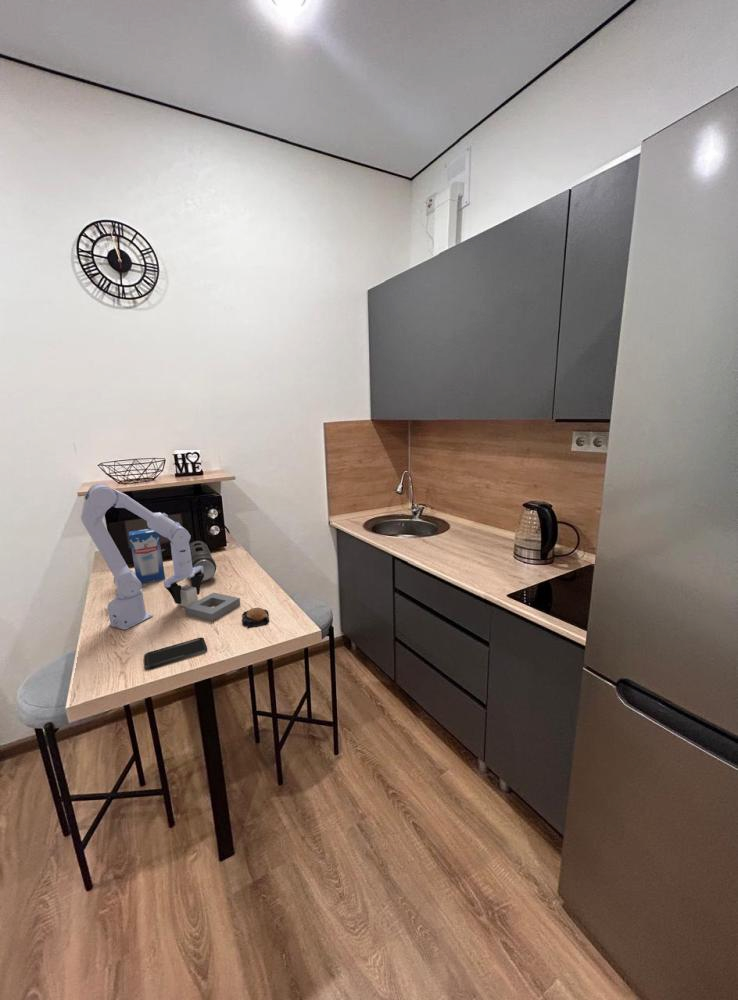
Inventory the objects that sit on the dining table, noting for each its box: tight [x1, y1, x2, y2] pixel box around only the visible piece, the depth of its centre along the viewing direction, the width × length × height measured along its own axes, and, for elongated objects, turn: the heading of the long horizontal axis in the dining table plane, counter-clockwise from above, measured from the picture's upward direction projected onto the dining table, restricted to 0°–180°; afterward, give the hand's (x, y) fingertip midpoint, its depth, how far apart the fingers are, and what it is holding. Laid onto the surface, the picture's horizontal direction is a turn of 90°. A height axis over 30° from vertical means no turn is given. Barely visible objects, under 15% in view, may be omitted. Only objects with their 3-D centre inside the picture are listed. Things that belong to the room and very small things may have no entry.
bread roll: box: [241, 607, 271, 629], centre depth 125 cm, size 11×8×4 cm
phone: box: [143, 637, 208, 671], centre depth 108 cm, size 8×1×15 cm
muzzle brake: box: [189, 540, 217, 582], centre depth 166 cm, size 10×28×10 cm, turn 28°
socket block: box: [184, 592, 241, 622], centre depth 133 cm, size 12×12×2 cm
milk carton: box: [128, 528, 166, 585], centre depth 159 cm, size 10×6×20 cm, turn 121°
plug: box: [177, 584, 199, 608], centre depth 138 cm, size 4×5×6 cm
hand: (187, 598), depth 138 cm, fingers open, 7 cm apart
